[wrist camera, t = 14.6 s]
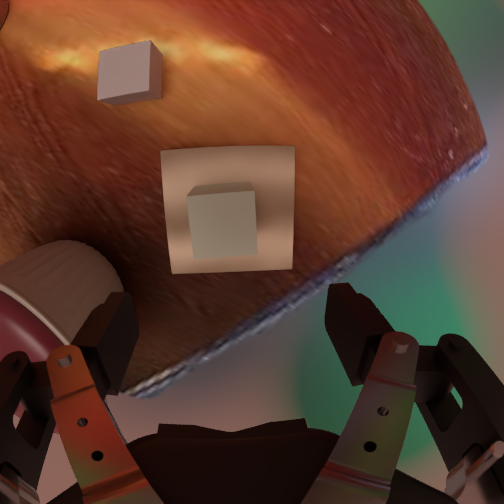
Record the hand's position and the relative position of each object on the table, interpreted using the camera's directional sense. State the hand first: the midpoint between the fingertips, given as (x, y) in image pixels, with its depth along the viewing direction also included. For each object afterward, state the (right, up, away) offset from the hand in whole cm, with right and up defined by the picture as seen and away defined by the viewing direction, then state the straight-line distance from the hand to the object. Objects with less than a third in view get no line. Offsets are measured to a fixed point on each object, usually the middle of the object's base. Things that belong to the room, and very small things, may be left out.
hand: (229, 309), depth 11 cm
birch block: (-1, +7, +19) cm, 20 cm away
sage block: (-2, +6, +15) cm, 16 cm away
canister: (-20, -2, +21) cm, 29 cm away
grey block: (-11, +20, +13) cm, 26 cm away
